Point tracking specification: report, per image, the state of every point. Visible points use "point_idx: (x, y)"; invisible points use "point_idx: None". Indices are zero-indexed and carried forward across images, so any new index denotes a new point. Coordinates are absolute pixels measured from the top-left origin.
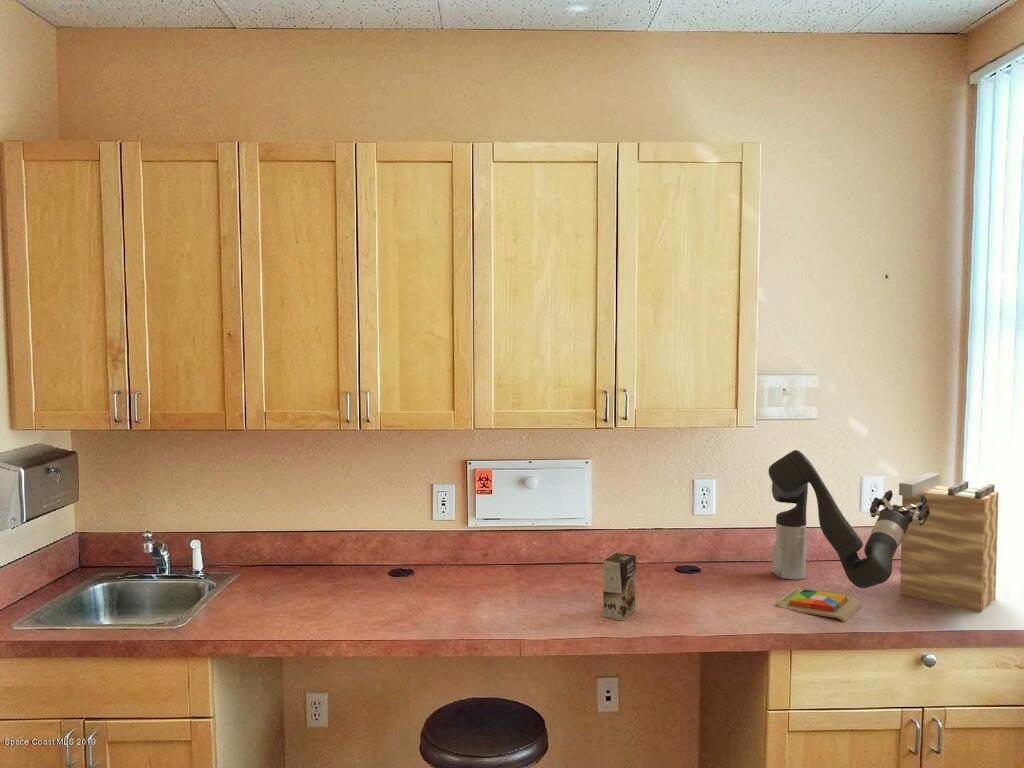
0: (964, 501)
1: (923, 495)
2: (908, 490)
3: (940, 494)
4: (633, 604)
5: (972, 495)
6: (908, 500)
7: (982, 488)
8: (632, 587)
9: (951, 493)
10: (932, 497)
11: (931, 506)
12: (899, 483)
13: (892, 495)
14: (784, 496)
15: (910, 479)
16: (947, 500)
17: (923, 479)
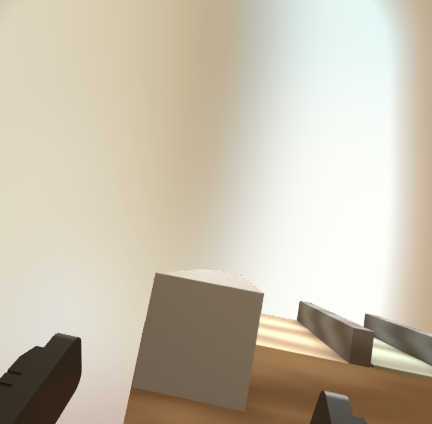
0: (422, 401)
1: (348, 404)
2: (222, 346)
3: (314, 358)
4: None
5: (413, 362)
6: None
7: (415, 330)
8: None
9: (366, 355)
10: (276, 372)
11: (265, 421)
12: (157, 276)
13: (78, 380)
14: None
15: (194, 271)
16: (344, 392)
17: (240, 278)
